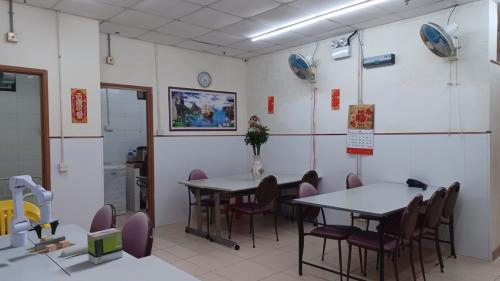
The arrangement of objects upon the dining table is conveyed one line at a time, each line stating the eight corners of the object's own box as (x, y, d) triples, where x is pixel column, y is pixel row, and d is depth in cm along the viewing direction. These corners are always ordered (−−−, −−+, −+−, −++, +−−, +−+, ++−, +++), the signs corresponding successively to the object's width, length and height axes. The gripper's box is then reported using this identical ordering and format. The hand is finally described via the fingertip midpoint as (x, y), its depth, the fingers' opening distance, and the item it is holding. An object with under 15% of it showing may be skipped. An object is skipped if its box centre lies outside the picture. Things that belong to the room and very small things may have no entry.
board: (25, 252, 205) (25, 249, 205) (58, 242, 223) (58, 240, 223) (42, 257, 196) (42, 254, 196) (76, 246, 214) (76, 244, 213)
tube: (63, 254, 190) (108, 242, 208) (59, 248, 193) (104, 237, 212) (62, 262, 191) (107, 250, 210) (58, 257, 195) (103, 245, 213)
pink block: (45, 251, 202) (45, 245, 202) (52, 248, 205) (52, 243, 205) (49, 252, 200) (49, 246, 200) (56, 250, 203) (56, 244, 203)
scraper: (28, 248, 206) (28, 240, 206) (56, 240, 221) (56, 232, 221) (37, 251, 202) (36, 242, 202) (65, 242, 216) (65, 234, 216)
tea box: (115, 253, 201) (114, 227, 200) (122, 257, 194) (122, 230, 193) (87, 260, 190) (86, 233, 190) (94, 265, 183) (94, 236, 183)
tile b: (59, 247, 209) (58, 241, 209) (65, 245, 212) (65, 240, 212) (63, 248, 207) (62, 242, 207) (69, 246, 210) (69, 241, 210)
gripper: (36, 216, 193) (37, 241, 193) (62, 210, 205) (63, 234, 205) (29, 214, 196) (30, 239, 197) (55, 209, 209) (56, 232, 209)
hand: (46, 236), depth 201 cm, fingers open, 7 cm apart
